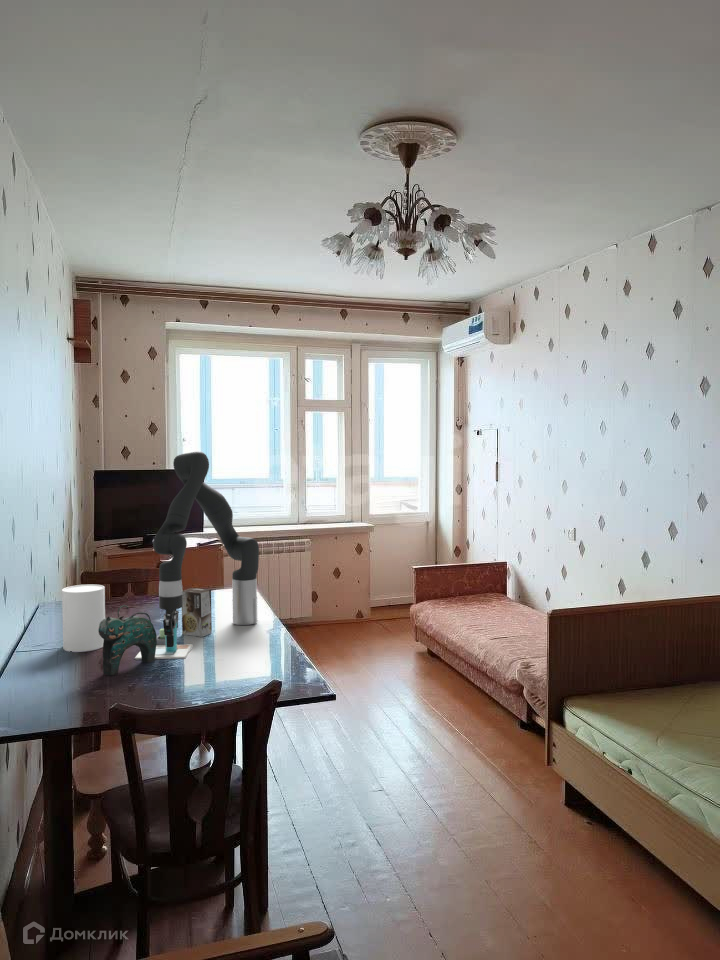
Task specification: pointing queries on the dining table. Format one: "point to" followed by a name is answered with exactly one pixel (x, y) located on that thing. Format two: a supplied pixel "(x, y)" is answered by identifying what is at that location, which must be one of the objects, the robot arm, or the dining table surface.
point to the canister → (82, 617)
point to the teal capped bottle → (174, 640)
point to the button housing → (160, 641)
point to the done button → (161, 634)
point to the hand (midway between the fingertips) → (171, 644)
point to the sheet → (163, 654)
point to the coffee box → (196, 612)
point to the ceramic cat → (126, 639)
